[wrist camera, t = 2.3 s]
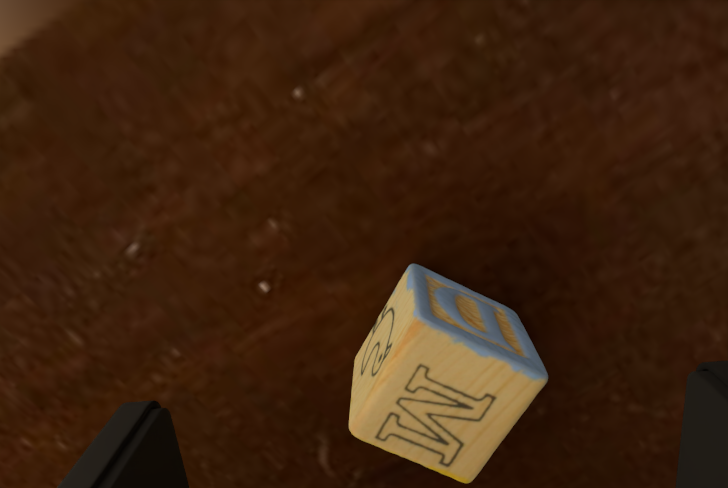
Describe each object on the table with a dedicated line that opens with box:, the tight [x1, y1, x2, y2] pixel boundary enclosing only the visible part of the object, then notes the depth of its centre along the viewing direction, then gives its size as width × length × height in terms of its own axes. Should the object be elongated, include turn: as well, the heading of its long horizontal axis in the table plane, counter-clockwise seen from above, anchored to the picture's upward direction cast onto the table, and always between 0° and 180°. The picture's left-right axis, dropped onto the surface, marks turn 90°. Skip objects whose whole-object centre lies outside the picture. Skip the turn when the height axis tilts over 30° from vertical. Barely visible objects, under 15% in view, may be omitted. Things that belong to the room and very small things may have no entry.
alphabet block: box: [349, 264, 548, 483], centre depth 12 cm, size 3×3×3 cm
